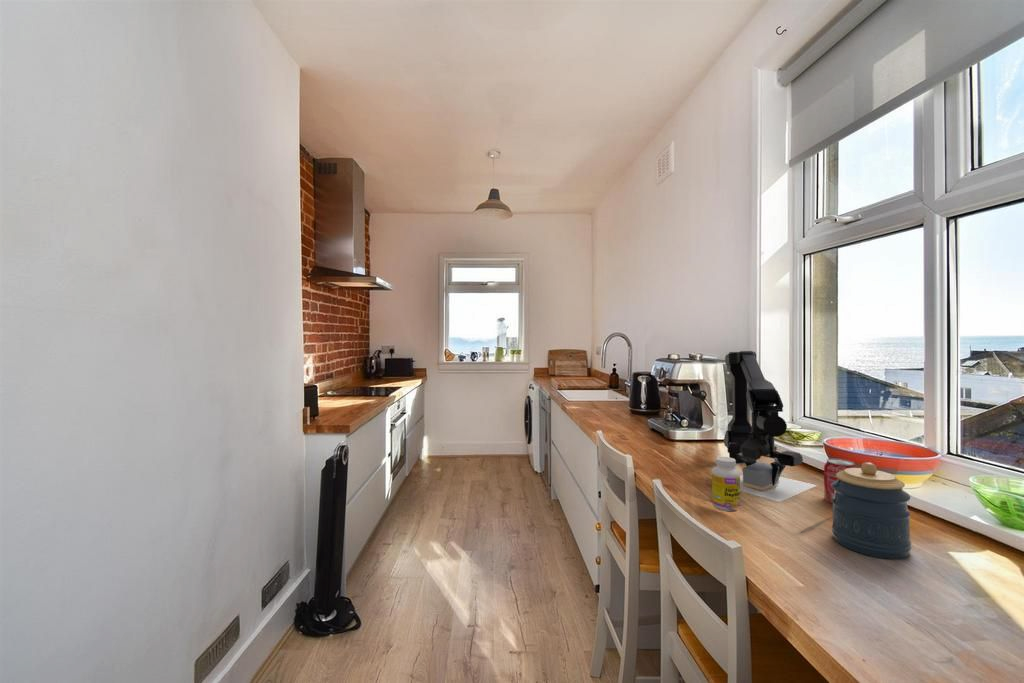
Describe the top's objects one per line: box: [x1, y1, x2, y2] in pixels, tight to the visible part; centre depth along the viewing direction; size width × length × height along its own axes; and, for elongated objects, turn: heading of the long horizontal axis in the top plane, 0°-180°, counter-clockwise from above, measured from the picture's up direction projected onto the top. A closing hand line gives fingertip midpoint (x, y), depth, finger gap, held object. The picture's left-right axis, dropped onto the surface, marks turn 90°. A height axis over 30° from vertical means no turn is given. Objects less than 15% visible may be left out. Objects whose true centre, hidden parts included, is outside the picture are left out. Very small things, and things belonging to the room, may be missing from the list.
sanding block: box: [742, 461, 779, 490], centre depth 125 cm, size 9×6×5 cm, turn 123°
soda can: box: [823, 458, 856, 505], centre depth 112 cm, size 7×7×12 cm
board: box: [740, 473, 818, 503], centre depth 126 cm, size 22×18×2 cm
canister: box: [831, 461, 912, 560], centre depth 92 cm, size 13×13×18 cm
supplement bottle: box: [711, 456, 741, 513], centre depth 114 cm, size 7×7×13 cm
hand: (763, 482), depth 126 cm, fingers closed on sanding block, 5 cm apart
